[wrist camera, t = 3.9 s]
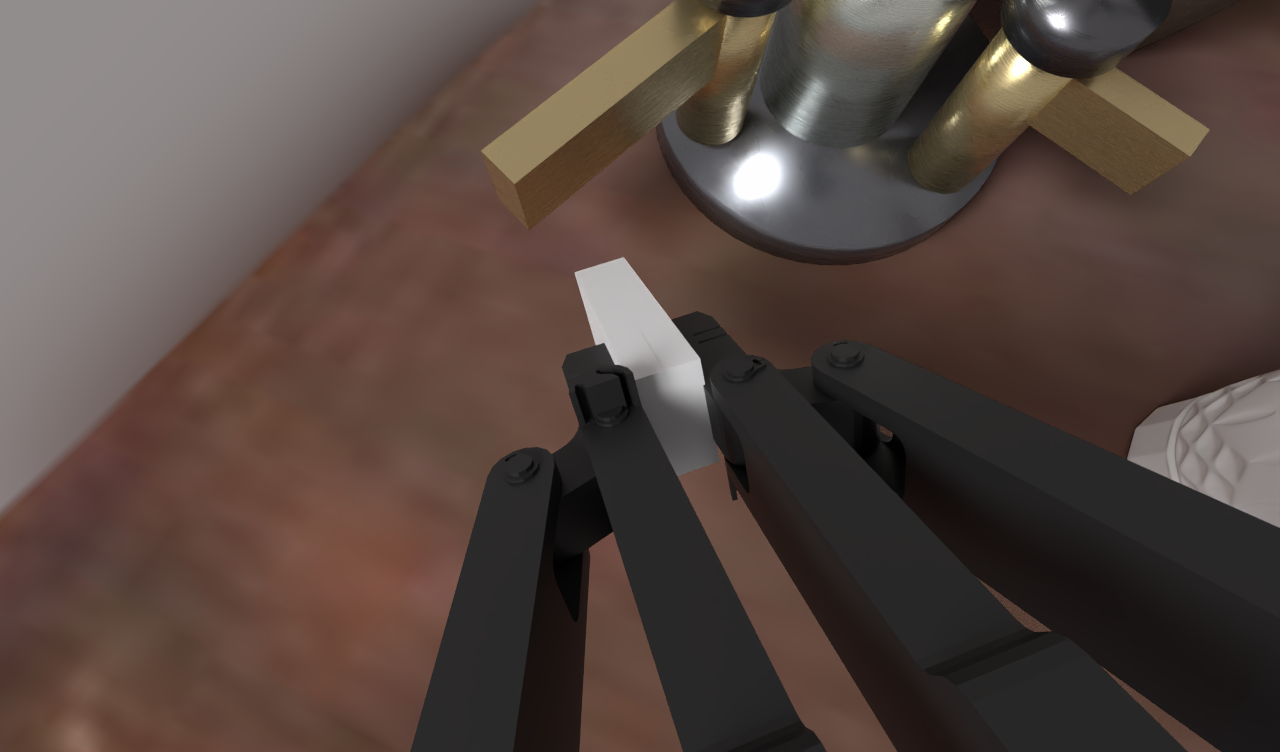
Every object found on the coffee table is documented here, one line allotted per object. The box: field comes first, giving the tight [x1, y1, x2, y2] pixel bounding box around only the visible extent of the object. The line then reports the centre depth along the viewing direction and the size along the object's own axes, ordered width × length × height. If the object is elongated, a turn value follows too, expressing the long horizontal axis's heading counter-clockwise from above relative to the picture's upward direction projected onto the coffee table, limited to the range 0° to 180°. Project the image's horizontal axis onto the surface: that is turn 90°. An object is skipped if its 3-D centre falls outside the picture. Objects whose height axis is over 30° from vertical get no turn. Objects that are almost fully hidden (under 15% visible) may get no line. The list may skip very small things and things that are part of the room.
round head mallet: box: [481, 0, 793, 230], centre depth 22 cm, size 13×4×9 cm, turn 134°
